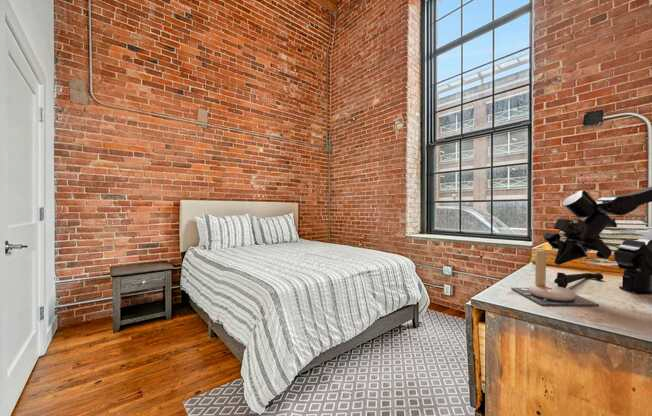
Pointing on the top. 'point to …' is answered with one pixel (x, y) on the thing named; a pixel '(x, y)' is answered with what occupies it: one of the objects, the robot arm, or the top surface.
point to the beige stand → (540, 282)
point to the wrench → (574, 278)
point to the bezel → (549, 302)
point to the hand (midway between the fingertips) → (556, 263)
